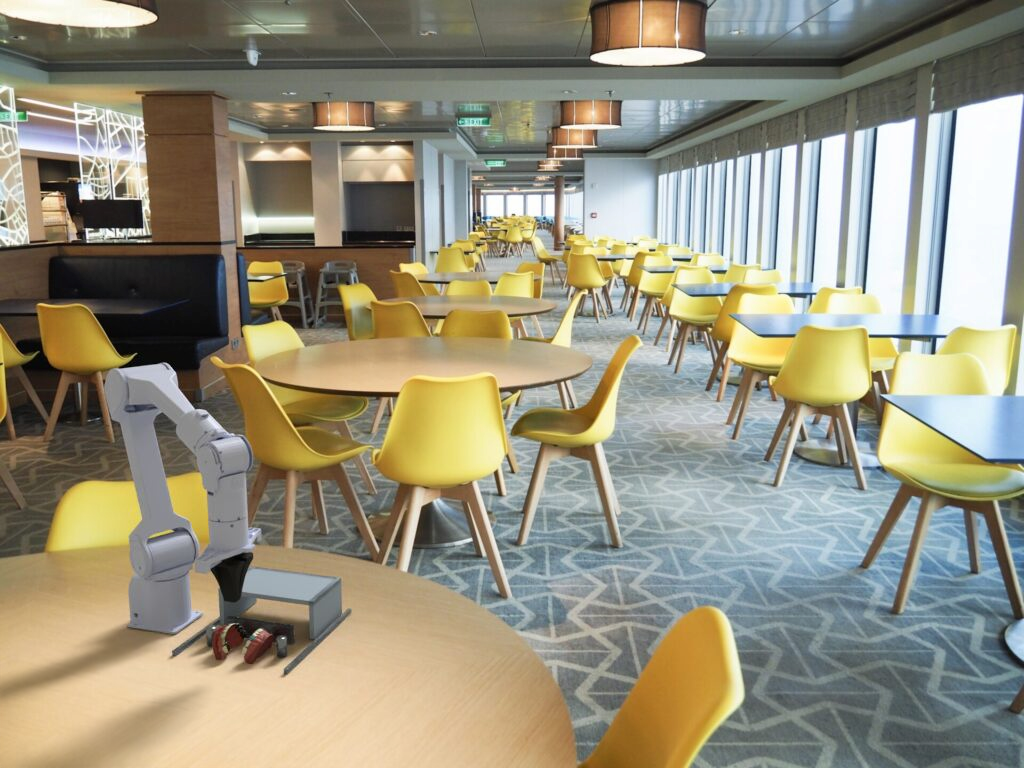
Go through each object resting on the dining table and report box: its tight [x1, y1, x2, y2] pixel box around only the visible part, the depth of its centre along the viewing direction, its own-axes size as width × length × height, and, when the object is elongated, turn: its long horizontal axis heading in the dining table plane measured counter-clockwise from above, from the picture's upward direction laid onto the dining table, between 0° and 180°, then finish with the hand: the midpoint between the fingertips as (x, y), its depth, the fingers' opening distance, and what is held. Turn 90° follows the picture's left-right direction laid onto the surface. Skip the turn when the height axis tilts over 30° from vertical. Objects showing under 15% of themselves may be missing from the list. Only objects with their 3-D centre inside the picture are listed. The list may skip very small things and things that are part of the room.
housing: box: [218, 566, 343, 640], centre depth 149 cm, size 18×10×7 cm, turn 75°
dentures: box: [211, 623, 274, 666], centre depth 138 cm, size 6×5×9 cm
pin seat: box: [171, 607, 352, 675], centre depth 145 cm, size 20×22×3 cm
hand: (232, 600), depth 134 cm, fingers closed
